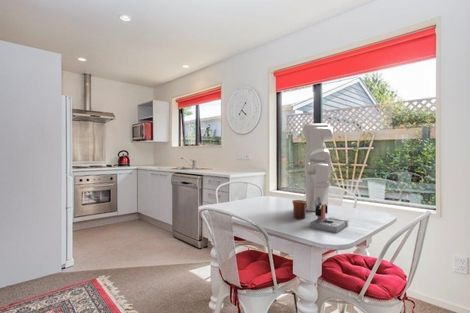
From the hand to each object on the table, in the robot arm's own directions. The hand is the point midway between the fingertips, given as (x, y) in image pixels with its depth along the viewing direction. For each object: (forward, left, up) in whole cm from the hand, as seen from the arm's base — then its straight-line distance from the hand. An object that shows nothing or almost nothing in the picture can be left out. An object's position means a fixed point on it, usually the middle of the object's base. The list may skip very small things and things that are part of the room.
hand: (321, 214), depth 160 cm
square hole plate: (+8, -11, -4) cm, 14 cm away
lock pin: (0, 0, -4) cm, 4 cm away
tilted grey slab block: (+10, -1, -4) cm, 11 cm away
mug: (-13, 0, -4) cm, 14 cm away
